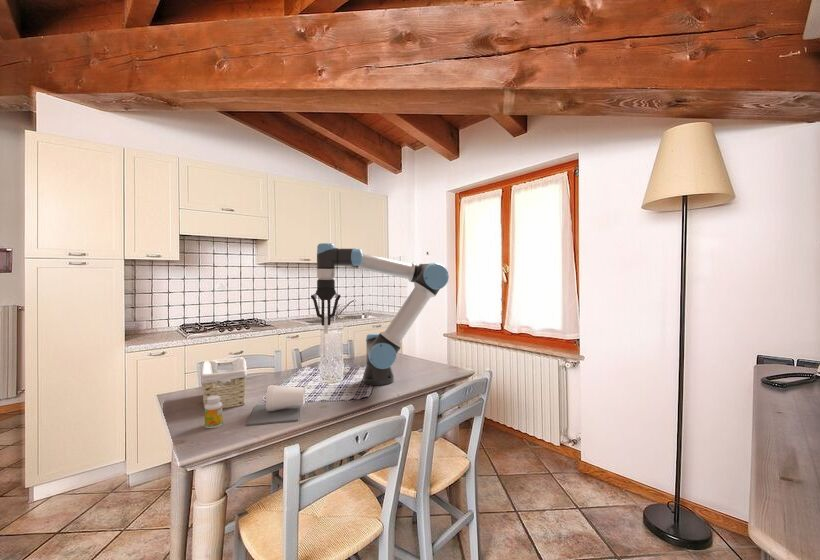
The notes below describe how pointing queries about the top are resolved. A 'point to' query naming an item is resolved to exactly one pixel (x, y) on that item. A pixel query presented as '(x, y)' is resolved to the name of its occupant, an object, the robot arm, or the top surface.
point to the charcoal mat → (273, 415)
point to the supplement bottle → (213, 412)
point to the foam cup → (284, 397)
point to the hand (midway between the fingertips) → (325, 332)
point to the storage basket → (224, 381)
